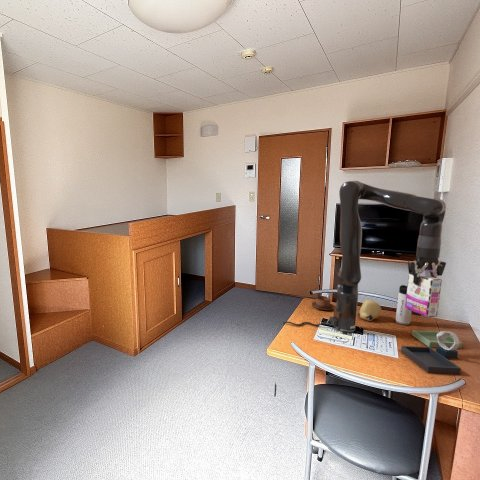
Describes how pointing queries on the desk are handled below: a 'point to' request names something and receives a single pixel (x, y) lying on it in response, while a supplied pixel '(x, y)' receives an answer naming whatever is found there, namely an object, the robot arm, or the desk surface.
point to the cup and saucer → (323, 303)
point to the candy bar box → (423, 295)
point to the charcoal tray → (430, 360)
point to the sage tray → (433, 338)
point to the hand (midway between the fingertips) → (423, 284)
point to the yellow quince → (369, 310)
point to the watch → (446, 350)
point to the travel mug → (402, 307)
